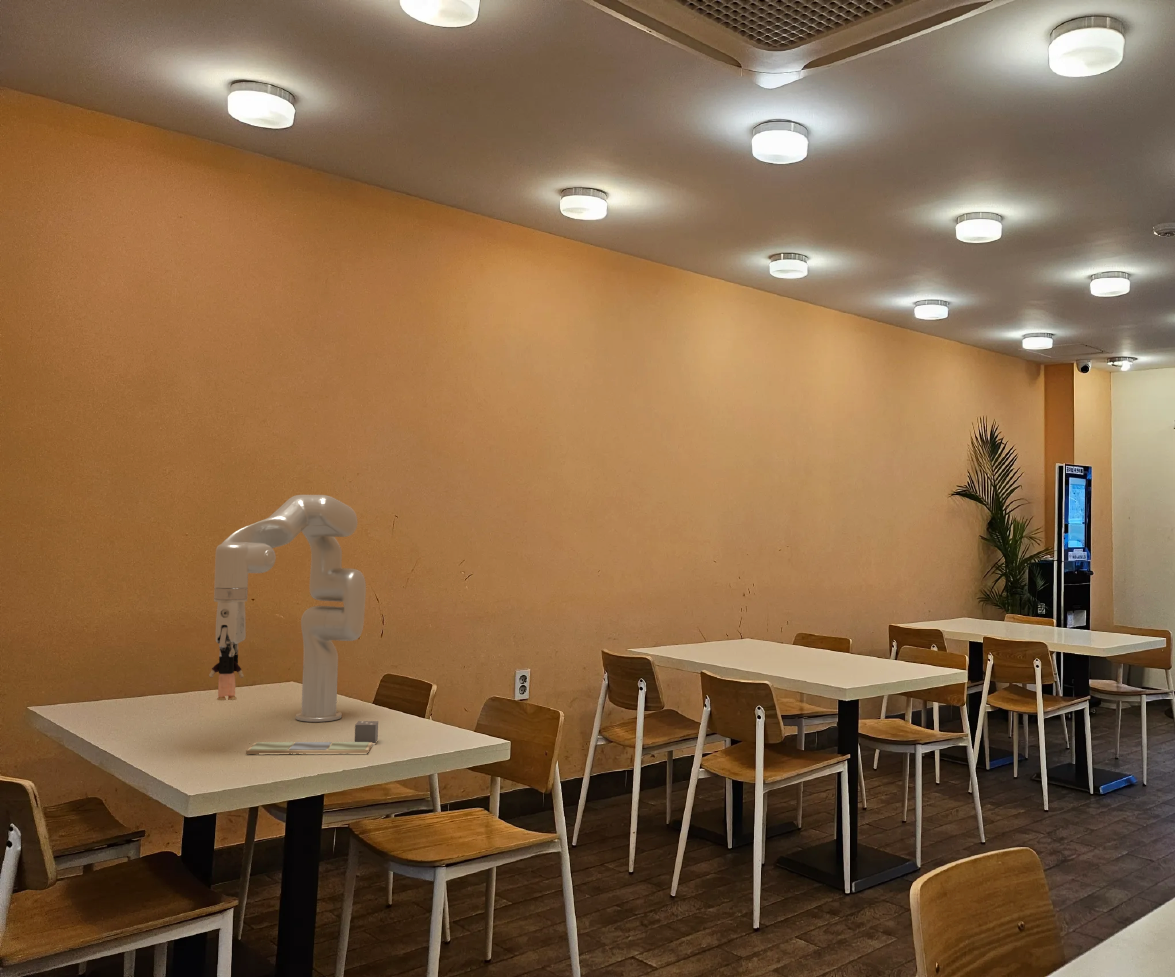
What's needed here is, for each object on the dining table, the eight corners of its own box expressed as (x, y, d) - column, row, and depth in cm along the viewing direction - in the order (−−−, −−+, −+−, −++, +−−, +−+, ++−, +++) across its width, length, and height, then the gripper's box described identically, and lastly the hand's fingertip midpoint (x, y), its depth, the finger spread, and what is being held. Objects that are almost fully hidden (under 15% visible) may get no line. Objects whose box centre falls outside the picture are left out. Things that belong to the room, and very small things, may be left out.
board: (254, 746, 232) (255, 741, 232) (372, 746, 235) (372, 741, 235) (245, 755, 223) (246, 749, 223) (367, 754, 226) (367, 749, 226)
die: (357, 741, 242) (358, 720, 242) (377, 741, 242) (378, 720, 243) (354, 745, 237) (355, 724, 237) (374, 745, 237) (375, 724, 238)
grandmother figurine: (237, 698, 231) (241, 645, 233) (243, 699, 228) (246, 646, 230) (205, 700, 227) (208, 645, 228) (210, 701, 224) (214, 646, 225)
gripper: (238, 597, 222) (235, 677, 221) (255, 593, 238) (252, 667, 237) (204, 597, 221) (201, 677, 220) (223, 592, 237) (221, 667, 236)
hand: (228, 671), depth 228 cm, fingers closed on grandmother figurine, 3 cm apart
